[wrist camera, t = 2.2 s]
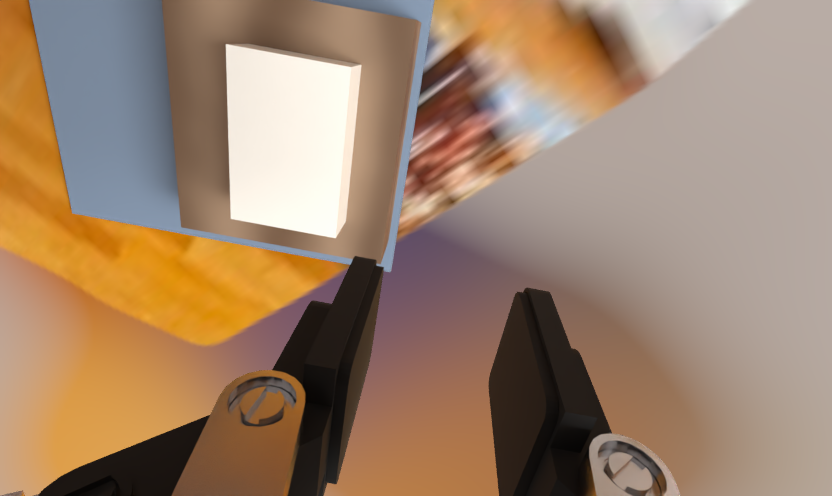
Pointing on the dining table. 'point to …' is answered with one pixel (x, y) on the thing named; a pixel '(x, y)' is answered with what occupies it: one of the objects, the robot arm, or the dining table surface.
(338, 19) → the block
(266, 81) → the tile
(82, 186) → the placemat
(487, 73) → the dining table surface
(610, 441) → the robot arm
